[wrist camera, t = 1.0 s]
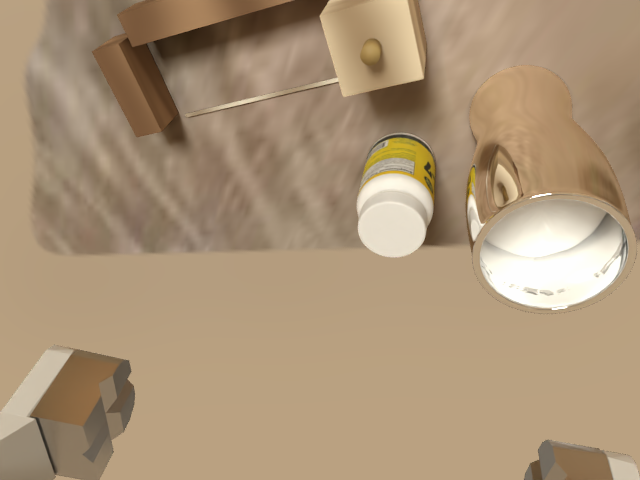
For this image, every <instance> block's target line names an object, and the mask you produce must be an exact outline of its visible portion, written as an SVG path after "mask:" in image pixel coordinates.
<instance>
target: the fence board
mask: <svg viewBox="0 0 640 480" xmlns="http://www.w3.org/2000/svg"><path fill="white" fill-rule="evenodd" d="M290 1H293V0H145V1H142V2H139V3H136V4H134V5H132V6H131V7H129V8H127V9H126V10H124V11H122V12H121V13H119V14H118V15H117V16H118V18H119V20H120V22H121V24H122V26H123V28H124V30H125V34H121V35H118V36H115V37H113V38H112V39H110V40H109V41H107V42H106V43H104V44H103V45H101V46H100V47H98V48H97V49H95V50H94V51H92V53H93V55H94V57H95V59H96V61H97V62H98V64H99V66H100V68H101V70H102V72H103V74H104V76H105V78H106V80H107V82H108V83H109V85H110V87H111V89H112V91H113V93H114V95H115V97H116V99H117V101H118V103H119V104H120V106H121V108H122V110H123V112H124V114H125V116H126V118H127V120H128V122H129V124H130V126H131V127H132V129H133V131H134V133H135V135H136V137H140V136H145V135H149V134H153V133H158V132H162V131H163V130H164V129H165V127H166V126H167V125H168V124H169V123H170V122H171V121H172V120H173V118H174V117H175V116H176V115H177V114H178V111H177V108H176V106H175V104H174V102H173V100H172V98H171V96H170V93H169V91H168V89H167V87H166V85H165V83H164V81H163V78H162V76H161V74H160V72H159V70H158V68H157V66H156V64H155V61H154V59H153V57H152V55H151V53H150V51H149V49H148V46H147V44H146V43H149V42H152V41H156V40H159V39H163V38H166V37H169V36H173V35H176V34H180V33H183V32H187V31H190V30H193V29H197V28H200V27H204V26H207V25H211V24H214V23H217V22H221V21H224V20H228V19H231V18H235V17H238V16H242V15H245V14H248V13H252V12H255V11H259V10H262V9H266V8H269V7H272V6H276V5H279V4H283V3H286V2H290ZM335 82H339V81H338V78H334V79H329V80H325V81H321V82H317V83H313V84H308V85H304V86H300V87H296V88H292V89H287V90H283V91H279V92H275V93H271V94H266V95H262V96H258V97H254V98H250V99H245V100H241V101H237V102H233V103H229V104H224V105H220V106H216V107H212V108H208V109H203V110H199V111H195V112H191V113H187V114H185V115H186V117H190V116H195V115H199V114H203V113H207V112H212V111H216V110H220V109H224V108H229V107H233V106H237V105H241V104H246V103H250V102H254V101H258V100H262V99H267V98H271V97H275V96H279V95H284V94H288V93H292V92H296V91H301V90H305V89H309V88H313V87H318V86H322V85H326V84H330V83H335Z"/></svg>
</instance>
